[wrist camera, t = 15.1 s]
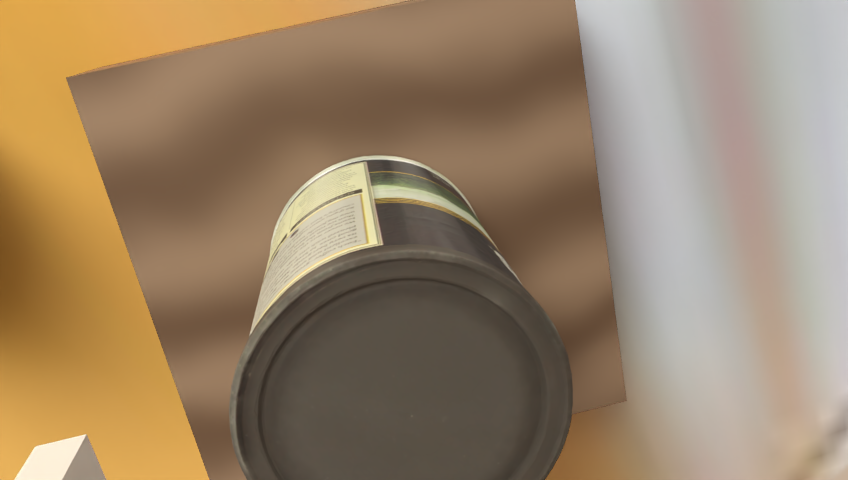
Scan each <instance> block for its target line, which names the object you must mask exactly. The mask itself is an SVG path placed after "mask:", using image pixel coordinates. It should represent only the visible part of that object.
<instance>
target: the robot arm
mask: <svg viewBox="0 0 848 480" xmlns="http://www.w3.org/2000/svg"><path fill="white" fill-rule="evenodd" d="M14 480H106V478H105V476H104V474H103V471H102V469H101V467H100V464H99V462H98V460H97V457H96V455H95V453H94V450H93V448H92V446H91V443H90V441H89V439H88V437H87V434H86V435H82V436H77V437H73V438H69V439H65V440H61V441H56V442H52V443H48V444H44V445H40V446H35V448H34V450H33V451H32V453H31V454H30V456H29V457H28V459H27V461H26V462H25V464H24V465H23V467H22V468H21V470H20V472H19V473H18V475H17V476H16V478H15V479H14Z"/></svg>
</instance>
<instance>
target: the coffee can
mask: <svg viewBox="0 0 848 480" xmlns="http://www.w3.org/2000/svg"><path fill="white" fill-rule="evenodd" d="M572 407H573V384H572V373H571V369H570V363H569V358H568V354H567V352H566V349H565V346H564V344H563V342H562V339H561V337H560V335H559V333H558V331H557V329H556V327H555V325H554V323H553V322H552V321H551V319H550V318H549V316H548V315H547V313H546V312H545V311H544V309H543V308H542V307H541V306H540V304H539V303H538V302H537V301H536V300H535V299H534V298H533V297H532V295H531V294H530V293H529V292H528V291H527V290H526V289H525V288H524V287H523V285H522V284H521V282H520V280H519V279H518V277H517V276H516V274H515V273H514V271H513V270H512V268H511V267H510V266H509V264H508V262H507V261H506V260H505V259H504V257H503V255H502V254H501V253H500V251H499V250H498V248H497V247H496V245H495V244H494V242H493V241H492V240H491V238H490V237H489V235H488V234H487V232H486V231H485V229H484V228H483V226H482V225H481V223H480V222H479V220H478V218H477V216H476V214H475V212H474V210H473V209H472V207H471V205H470V203H469V202H468V200H467V199H466V197H465V196H464V195H463V194H462V192H461V191H460V190H459V189H458V188H457V187H456V186H455V185H454V184H453V183H452V182H451V181H450V180H449V179H447V178H446V177H445V176H443V175H442V174H440V173H439V172H437V171H436V170H434V169H432V168H430V167H428V166H426V165H424V164H422V163H419V162H416V161H413V160H410V159H406V158H402V157H396V156H380V155H373V156H362V157H356V158H352V159H349V160H346V161H342V162H340V163H337V164H335V165H332V166H330V167H328V168H326V169H325V170H323V171H321V172H320V173H318V174H316V175H315V176H314V177H312V178H311V179H310V180H308V181H307V182H306V183H305V184H304V185H303V186H302V187H300V188H299V189H298V191H297V192H296V193H295V194H294V195H293V196H292V197H291V198H290V199H289V201H288V203H287V204H286V206H285V207H284V209H283V211H282V213H281V215H280V217H279V219H278V221H277V223H276V226H275V229H274V233H273V237H272V240H271V247H270V256H269V260H268V264H267V268H266V272H265V276H264V280H263V283H262V287H261V292H260V295H259V299H258V303H257V307H256V311H255V315H254V319H253V323H252V327H251V331H250V335H249V338H248V340H247V342H246V345H245V347H244V349H243V351H242V354H241V356H240V358H239V361H238V364H237V367H236V370H235V373H234V377H233V381H232V386H231V393H230V403H229V421H230V432H231V438H232V444H233V448H234V451H235V454H236V457H237V460H238V463H239V465H240V467H241V469H242V471H243V473H244V475H245V477H246V479H247V480H545V478H546V477H547V475H548V474H549V472H550V471H551V470H552V468H553V466H554V464H555V463H556V461H557V459H558V457H559V455H560V453H561V451H562V449H563V446H564V443H565V440H566V437H567V434H568V431H569V427H570V422H571V417H572Z"/></svg>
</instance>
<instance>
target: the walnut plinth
mask: <svg viewBox="0 0 848 480" xmlns="http://www.w3.org/2000/svg"><path fill="white" fill-rule="evenodd" d="M66 79H67V82H68V85H69V87H70V90H71V93H72V96H73V99H74V101H75V104H76V107H77V110H78V113H79V115H80V118H81V121H82V124H83V127H84V129H85V132H86V135H87V138H88V141H89V143H90V146H91V149H92V152H93V155H94V157H95V160H96V163H97V166H98V169H99V171H100V174H101V177H102V180H103V183H104V185H105V188H106V191H107V194H108V197H109V199H110V202H111V205H112V208H113V211H114V213H115V216H116V219H117V222H118V225H119V227H120V230H121V233H122V236H123V239H124V241H125V244H126V247H127V250H128V253H129V255H130V258H131V261H132V264H133V267H134V269H135V272H136V275H137V278H138V281H139V283H140V286H141V289H142V292H143V295H144V297H145V300H146V303H147V306H148V309H149V311H150V314H151V317H152V320H153V323H154V325H155V328H156V331H157V334H158V337H159V339H160V342H161V345H162V348H163V351H164V353H165V356H166V359H167V362H168V365H169V367H170V370H171V373H172V376H173V379H174V381H175V384H176V387H177V390H178V393H179V395H180V398H181V401H182V404H183V407H184V409H185V412H186V415H187V418H188V421H189V423H190V426H191V429H192V432H193V435H194V437H195V440H196V443H197V446H198V449H199V451H200V454H201V457H202V460H203V463H204V465H205V468H206V471H207V474H208V477H209V479H210V480H247V479H246V477H245V475H244V473H243V471H242V469H241V467H240V465H239V463H238V460H237V457H236V454H235V451H234V448H233V444H232V438H231V432H230V421H229V403H230V393H231V386H232V381H233V377H234V373H235V370H236V367H237V364H238V361H239V358H240V356H241V354H242V351H243V349H244V347H245V345H246V342H247V340H248V338H249V335H250V331H251V327H252V323H253V319H254V315H255V311H256V307H257V303H258V299H259V295H260V292H261V287H262V283H263V280H264V276H265V272H266V268H267V264H268V260H269V256H270V247H271V240H272V237H273V233H274V229H275V226H276V223H277V221H278V219H279V217H280V215H281V213H282V211H283V209H284V207H285V206H286V204H287V203H288V201H289V199H290V198H291V197H292V196H293V195H294V194H295V193H296V192H297V191H298V189H299V188H300V187H302V186H303V185H304V184H305V183H306V182H307V181H308V180H310V179H311V178H312V177H314V176H315V175H316V174H318V173H320V172H321V171H323V170H325V169H326V168H328V167H330V166H332V165H335V164H337V163H340V162H342V161H346V160H349V159H352V158H356V157H362V156H373V155H380V156H396V157H402V158H406V159H410V160H413V161H416V162H419V163H422V164H424V165H426V166H428V167H430V168H432V169H434V170H436V171H437V172H439V173H440V174H442V175H443V176H445V177H446V178H447V179H449V180H450V181H451V182H452V183H453V184H454V185H455V186H456V187H457V188H458V189H459V190H460V191H461V192H462V194H463V195H464V196H465V197H466V199H467V200H468V202H469V203H470V205H471V207H472V209H473V210H474V212H475V214H476V216H477V218H478V220H479V222H480V223H481V225H482V226H483V228H484V229H485V231H486V232H487V234H488V235H489V237H490V238H491V240H492V241H493V242H494V244H495V245H496V247H497V248H498V250H499V251H500V253H501V254H502V255H503V257H504V259H505V260H506V261H507V262H508V264H509V266H510V267H511V268H512V270H513V271H514V273H515V274H516V276H517V277H518V279H519V280H520V282H521V284H522V285H523V287H524V288H525V289H526V290H527V291H528V292H529V293H530V294H531V295H532V297H533V298H534V299H535V300H536V301H537V302H538V303H539V304H540V306H541V307H542V308H543V309H544V311H545V312H546V313H547V315H548V316H549V318H550V319H551V321H552V322H553V323H554V325H555V327H556V329H557V331H558V333H559V335H560V337H561V339H562V342H563V344H564V346H565V349H566V352H567V354H568V358H569V363H570V369H571V373H572V384H573V407H572V414H576V413H580V412H584V411H588V410H592V409H596V408H600V407H604V406H608V405H612V404H616V403H620V402H624V401H626V394H625V386H624V378H623V370H622V362H621V355H620V347H619V339H618V331H617V324H616V316H615V308H614V300H613V292H612V285H611V277H610V269H609V261H608V254H607V246H606V238H605V230H604V222H603V215H602V207H601V199H600V191H599V183H598V176H597V168H596V160H595V152H594V145H593V137H592V129H591V121H590V113H589V106H588V98H587V90H586V82H585V75H584V67H583V59H582V51H581V43H580V36H579V28H578V20H577V12H576V5H575V0H410V1H405V2H400V3H396V4H391V5H386V6H382V7H377V8H373V9H368V10H363V11H359V12H354V13H349V14H345V15H340V16H336V17H331V18H326V19H322V20H317V21H312V22H308V23H303V24H299V25H294V26H289V27H285V28H280V29H275V30H271V31H266V32H262V33H257V34H252V35H248V36H243V37H238V38H234V39H229V40H225V41H220V42H215V43H211V44H206V45H201V46H197V47H192V48H188V49H183V50H178V51H174V52H169V53H164V54H160V55H155V56H151V57H146V58H141V59H137V60H132V61H127V62H123V63H118V64H114V65H109V66H104V67H100V68H97V69H93V70H90V71H87V72H84V73H80V74H77V75H74V76H70V77H67V78H66Z"/></svg>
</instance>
